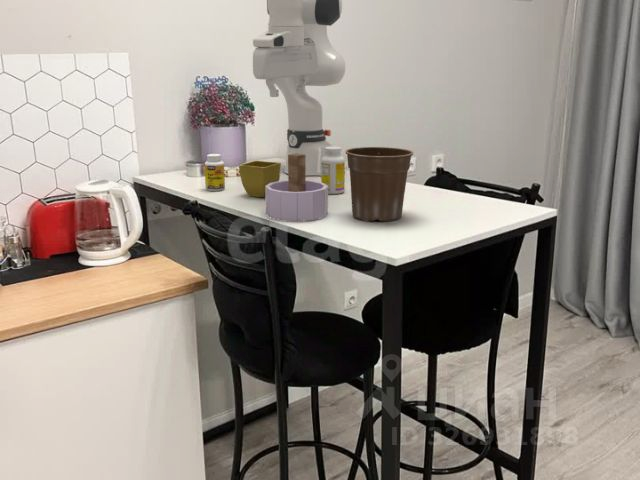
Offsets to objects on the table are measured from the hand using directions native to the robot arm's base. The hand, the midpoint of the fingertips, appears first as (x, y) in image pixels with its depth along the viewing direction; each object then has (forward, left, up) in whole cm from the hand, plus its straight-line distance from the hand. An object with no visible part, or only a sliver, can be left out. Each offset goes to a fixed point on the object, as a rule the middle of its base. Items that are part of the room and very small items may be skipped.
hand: (287, 95), depth 165 cm
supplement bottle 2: (-17, +1, -28) cm, 33 cm away
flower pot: (0, -11, -28) cm, 30 cm away
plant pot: (-4, +27, -28) cm, 39 cm away
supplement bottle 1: (+4, -26, -28) cm, 39 cm away
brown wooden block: (+8, +11, -27) cm, 30 cm away
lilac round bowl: (+8, +11, -28) cm, 31 cm away
